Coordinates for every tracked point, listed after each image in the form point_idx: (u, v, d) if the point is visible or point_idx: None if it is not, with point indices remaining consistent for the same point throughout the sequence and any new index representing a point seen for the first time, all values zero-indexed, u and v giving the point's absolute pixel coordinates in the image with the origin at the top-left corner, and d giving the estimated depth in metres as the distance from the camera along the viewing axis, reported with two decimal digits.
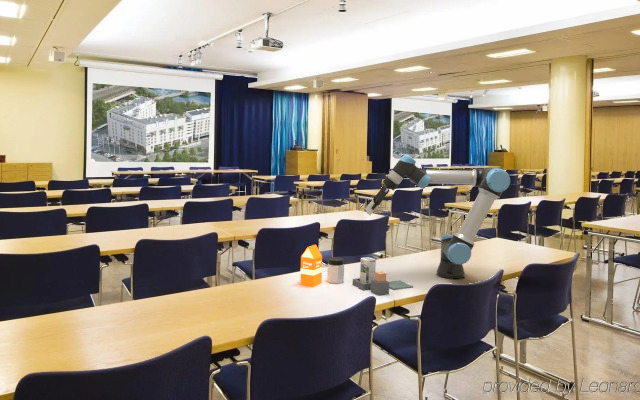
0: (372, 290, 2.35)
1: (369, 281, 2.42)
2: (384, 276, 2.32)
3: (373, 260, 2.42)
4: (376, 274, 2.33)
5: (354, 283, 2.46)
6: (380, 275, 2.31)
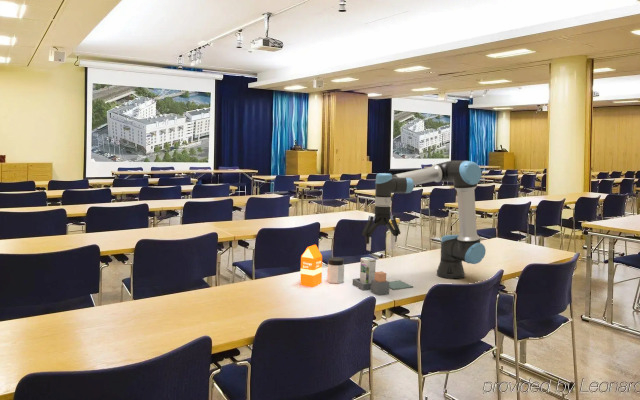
0: (372, 290, 2.35)
1: (369, 281, 2.42)
2: (384, 276, 2.32)
3: (373, 260, 2.42)
4: (376, 274, 2.33)
5: (354, 283, 2.46)
6: (380, 275, 2.31)
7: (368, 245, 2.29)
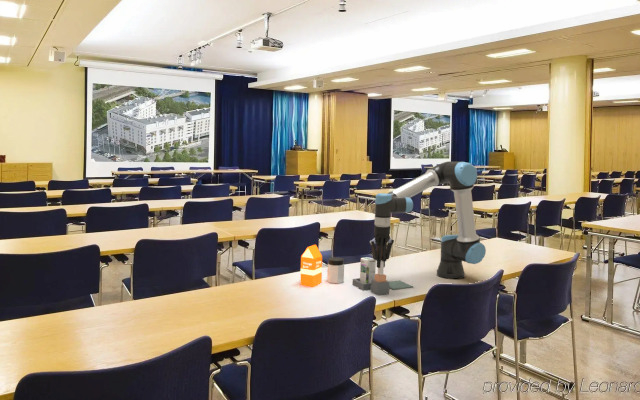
0: (372, 290, 2.35)
1: (369, 281, 2.42)
2: (384, 278, 2.32)
3: (373, 260, 2.42)
4: (376, 276, 2.33)
5: (354, 283, 2.46)
6: (380, 277, 2.31)
7: (379, 269, 2.32)
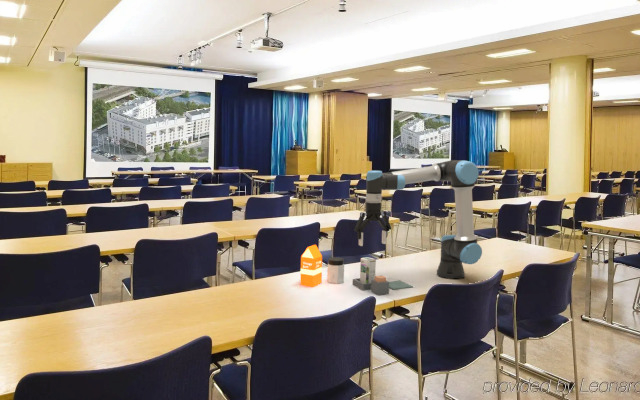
0: (372, 290, 2.35)
1: (369, 281, 2.42)
2: (384, 280, 2.32)
3: (373, 260, 2.42)
4: (376, 278, 2.33)
5: (354, 283, 2.46)
6: (380, 279, 2.31)
7: (360, 240, 2.36)
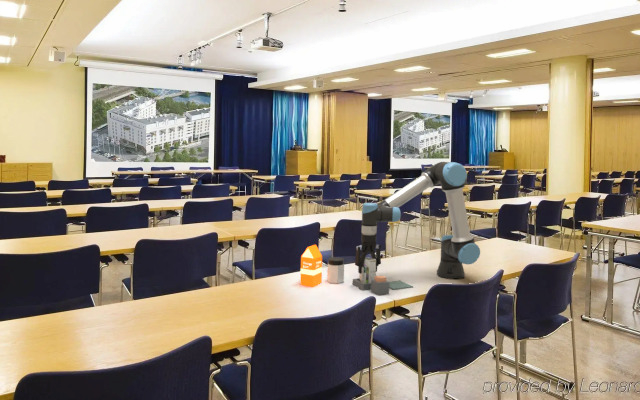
0: (372, 290, 2.35)
1: (369, 281, 2.42)
2: (384, 280, 2.32)
3: (373, 260, 2.42)
4: (376, 278, 2.33)
5: (354, 283, 2.46)
6: (380, 279, 2.31)
7: (361, 274, 2.42)
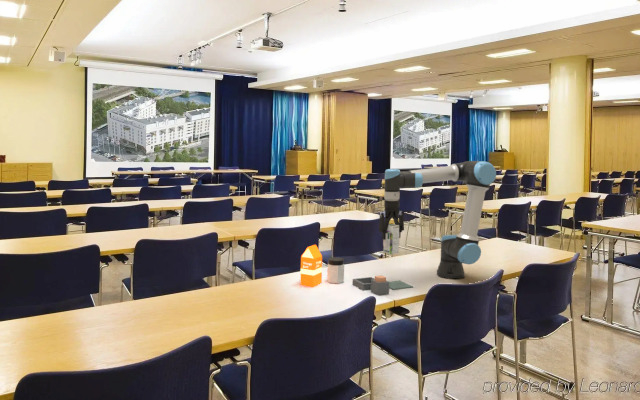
0: (372, 290, 2.35)
1: (393, 247, 2.42)
2: (384, 280, 2.32)
3: (396, 226, 2.42)
4: (376, 278, 2.33)
5: (354, 283, 2.46)
6: (380, 279, 2.31)
7: (385, 241, 2.43)
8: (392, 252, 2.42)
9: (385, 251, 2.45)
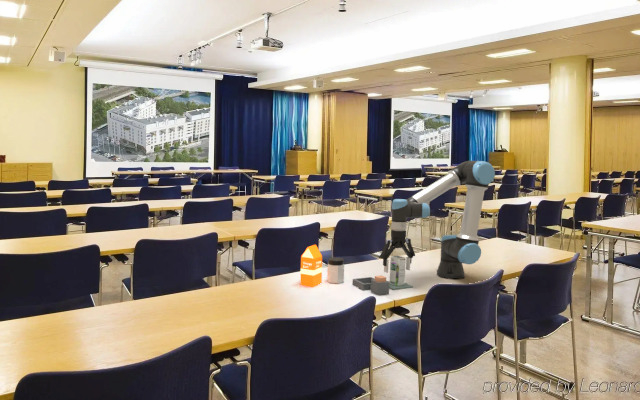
0: (372, 290, 2.35)
1: (399, 279, 2.45)
2: (384, 280, 2.32)
3: (403, 258, 2.45)
4: (376, 278, 2.33)
5: (354, 283, 2.46)
6: (380, 279, 2.31)
7: (386, 267, 2.44)
8: (398, 284, 2.44)
9: (391, 282, 2.47)
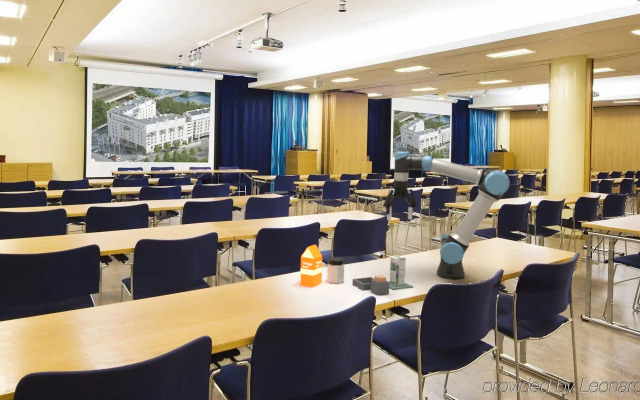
0: (372, 290, 2.35)
1: (399, 279, 2.45)
2: (384, 280, 2.32)
3: (403, 258, 2.45)
4: (376, 278, 2.33)
5: (354, 283, 2.46)
6: (380, 279, 2.31)
7: (388, 215, 2.58)
8: (398, 284, 2.44)
9: (391, 282, 2.47)
